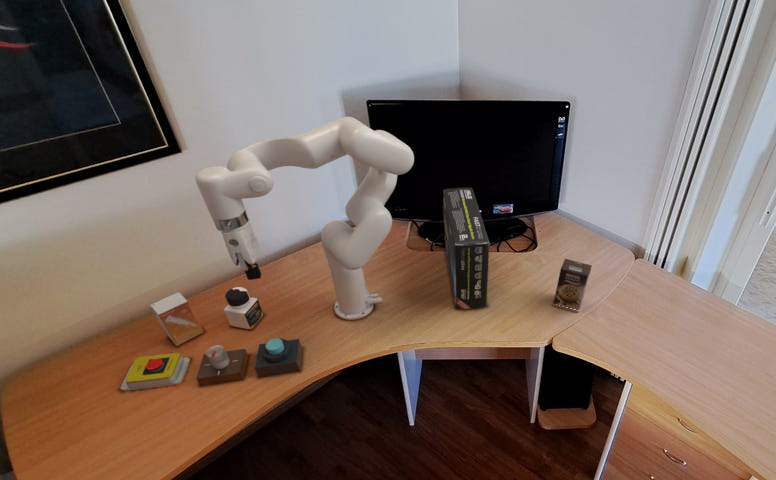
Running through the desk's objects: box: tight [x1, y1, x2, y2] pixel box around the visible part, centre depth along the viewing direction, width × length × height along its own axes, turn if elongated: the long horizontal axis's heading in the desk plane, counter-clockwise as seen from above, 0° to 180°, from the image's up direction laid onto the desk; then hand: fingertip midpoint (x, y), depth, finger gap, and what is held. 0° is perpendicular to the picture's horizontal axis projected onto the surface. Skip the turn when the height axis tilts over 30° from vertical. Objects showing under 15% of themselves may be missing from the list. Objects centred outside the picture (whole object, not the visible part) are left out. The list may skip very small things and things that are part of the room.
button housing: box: [254, 338, 303, 378], centre depth 126 cm, size 11×9×6 cm
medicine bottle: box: [223, 286, 265, 330], centre depth 137 cm, size 7×7×12 cm
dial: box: [205, 344, 230, 369], centre depth 122 cm, size 4×4×5 cm
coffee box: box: [552, 258, 593, 313], centre depth 146 cm, size 9×6×16 cm
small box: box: [149, 291, 204, 347], centre depth 131 cm, size 8×6×13 cm
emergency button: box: [119, 352, 191, 392], centre depth 122 cm, size 9×4×15 cm
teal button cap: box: [266, 338, 284, 355], centre depth 124 cm, size 4×4×2 cm
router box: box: [442, 187, 491, 310], centre depth 152 cm, size 36×11×27 cm, turn 10°
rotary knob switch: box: [195, 348, 249, 386], centre depth 124 cm, size 11×9×3 cm
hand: (255, 277), depth 119 cm, fingers closed
